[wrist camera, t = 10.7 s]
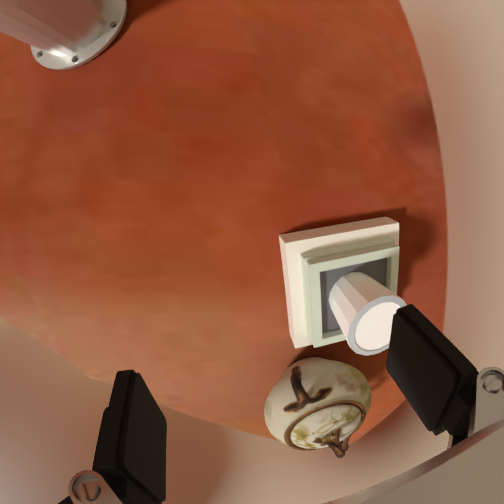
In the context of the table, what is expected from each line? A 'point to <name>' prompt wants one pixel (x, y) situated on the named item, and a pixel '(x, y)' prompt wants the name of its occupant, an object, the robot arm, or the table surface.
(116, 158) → the table surface
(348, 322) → the white short cylinder
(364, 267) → the stand
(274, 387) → the sugar bowl
